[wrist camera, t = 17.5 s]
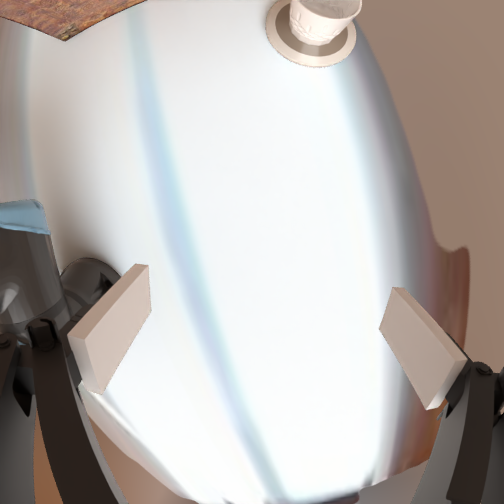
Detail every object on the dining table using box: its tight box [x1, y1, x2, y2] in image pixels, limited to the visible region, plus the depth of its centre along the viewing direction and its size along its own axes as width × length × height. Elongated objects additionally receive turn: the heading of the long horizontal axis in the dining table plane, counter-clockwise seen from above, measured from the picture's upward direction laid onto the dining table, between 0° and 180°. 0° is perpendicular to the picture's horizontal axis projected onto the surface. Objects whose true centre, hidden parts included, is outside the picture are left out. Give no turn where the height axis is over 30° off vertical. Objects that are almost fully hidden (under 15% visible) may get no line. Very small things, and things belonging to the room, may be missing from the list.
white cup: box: [289, 0, 362, 46], centre depth 24 cm, size 8×8×10 cm
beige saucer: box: [266, 0, 356, 68], centre depth 30 cm, size 13×13×2 cm
